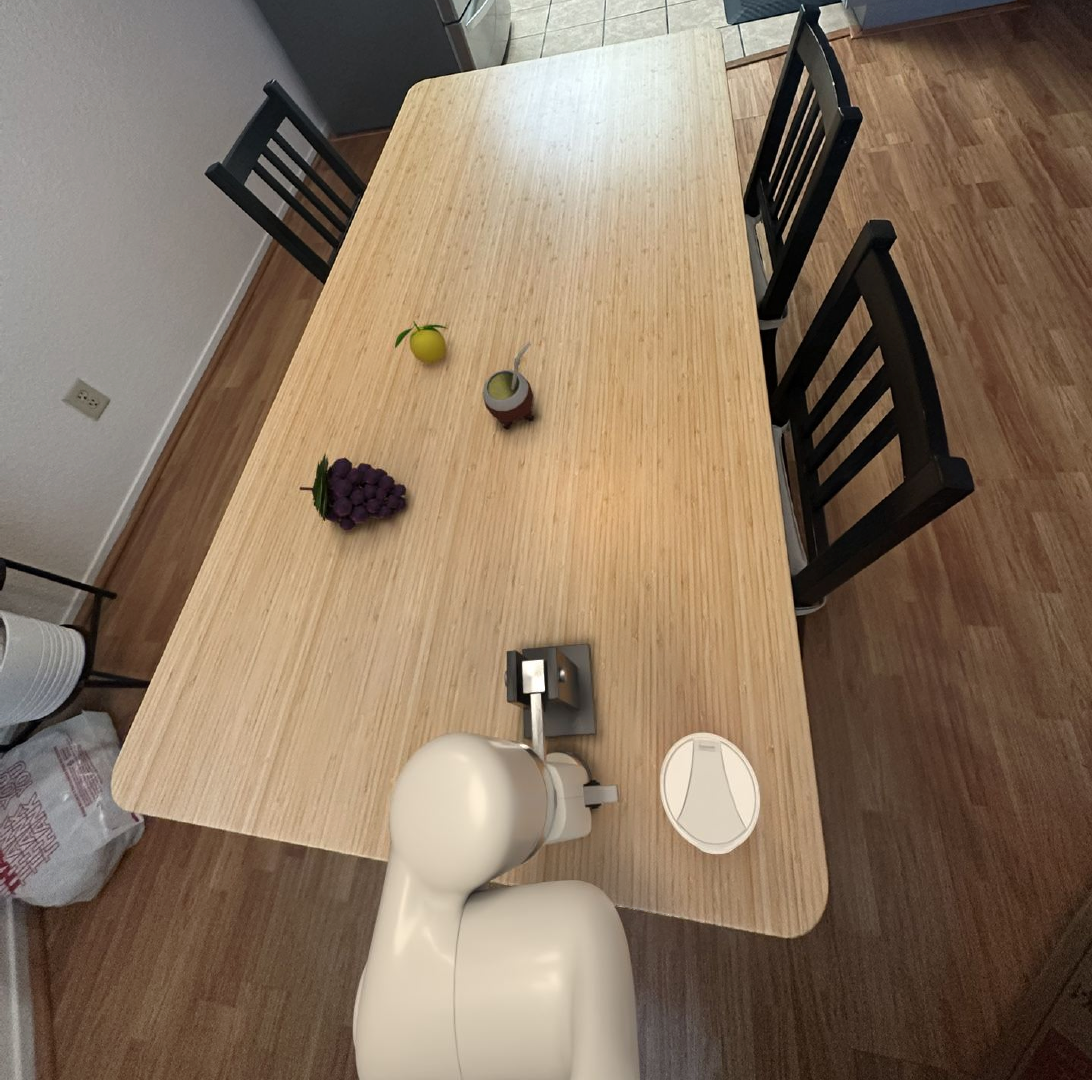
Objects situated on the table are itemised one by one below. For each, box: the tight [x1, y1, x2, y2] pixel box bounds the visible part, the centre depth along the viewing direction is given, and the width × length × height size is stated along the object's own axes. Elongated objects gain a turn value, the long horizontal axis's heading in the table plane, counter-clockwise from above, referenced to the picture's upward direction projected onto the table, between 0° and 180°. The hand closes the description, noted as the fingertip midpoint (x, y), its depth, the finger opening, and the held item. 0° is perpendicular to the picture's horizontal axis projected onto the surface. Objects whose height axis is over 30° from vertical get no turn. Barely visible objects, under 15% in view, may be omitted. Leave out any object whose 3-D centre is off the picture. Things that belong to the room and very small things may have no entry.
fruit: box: [299, 452, 407, 532], centre depth 85 cm, size 10×11×15 cm
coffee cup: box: [659, 732, 761, 855], centre depth 57 cm, size 8×8×15 cm
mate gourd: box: [482, 341, 535, 431], centre depth 86 cm, size 8×8×15 cm
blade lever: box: [522, 659, 548, 761], centre depth 58 cm, size 12×5×2 cm, turn 2°
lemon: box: [394, 320, 449, 364], centre depth 97 cm, size 7×6×10 cm
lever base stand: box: [503, 643, 598, 740], centre depth 65 cm, size 9×8×15 cm
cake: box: [546, 750, 594, 808], centre depth 64 cm, size 6×6×4 cm
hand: (548, 795), depth 58 cm, fingers closed on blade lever, 5 cm apart
